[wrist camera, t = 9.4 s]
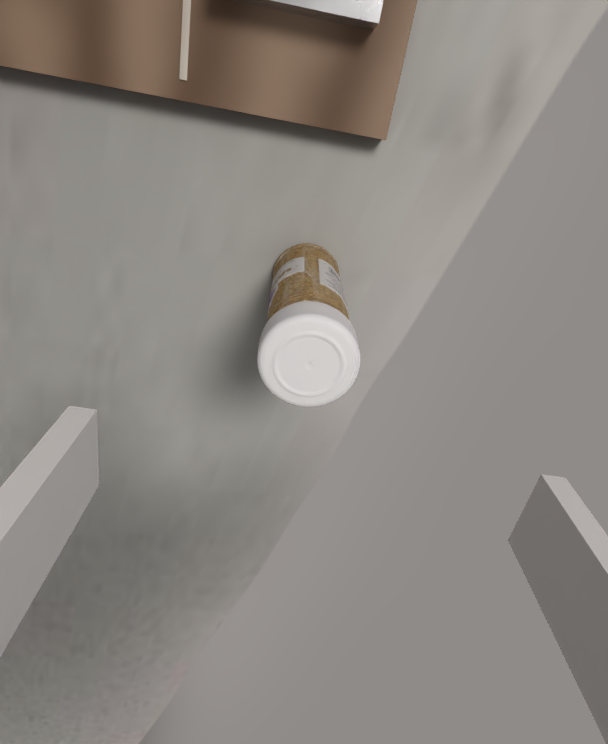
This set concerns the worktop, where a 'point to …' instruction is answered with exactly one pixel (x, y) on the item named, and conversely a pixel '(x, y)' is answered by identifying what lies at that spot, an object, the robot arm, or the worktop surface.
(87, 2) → the board
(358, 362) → the sprinkles bottle
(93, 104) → the worktop surface
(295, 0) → the socket
